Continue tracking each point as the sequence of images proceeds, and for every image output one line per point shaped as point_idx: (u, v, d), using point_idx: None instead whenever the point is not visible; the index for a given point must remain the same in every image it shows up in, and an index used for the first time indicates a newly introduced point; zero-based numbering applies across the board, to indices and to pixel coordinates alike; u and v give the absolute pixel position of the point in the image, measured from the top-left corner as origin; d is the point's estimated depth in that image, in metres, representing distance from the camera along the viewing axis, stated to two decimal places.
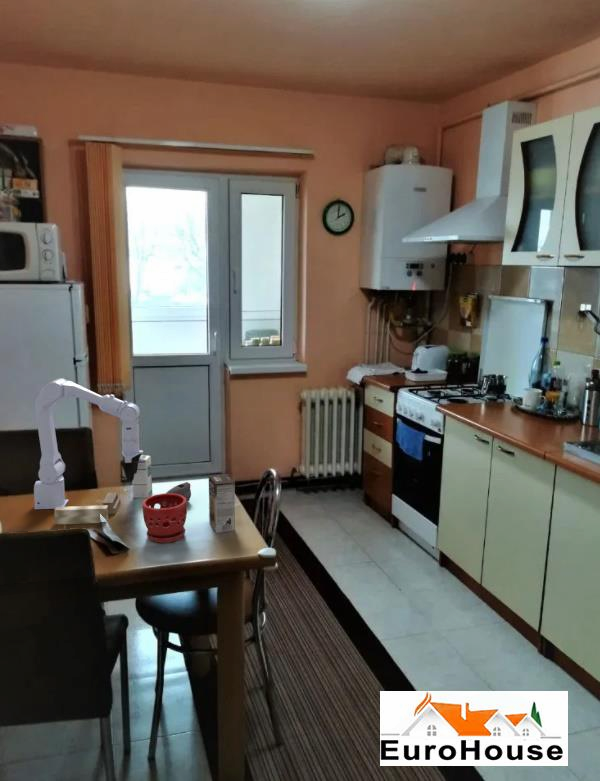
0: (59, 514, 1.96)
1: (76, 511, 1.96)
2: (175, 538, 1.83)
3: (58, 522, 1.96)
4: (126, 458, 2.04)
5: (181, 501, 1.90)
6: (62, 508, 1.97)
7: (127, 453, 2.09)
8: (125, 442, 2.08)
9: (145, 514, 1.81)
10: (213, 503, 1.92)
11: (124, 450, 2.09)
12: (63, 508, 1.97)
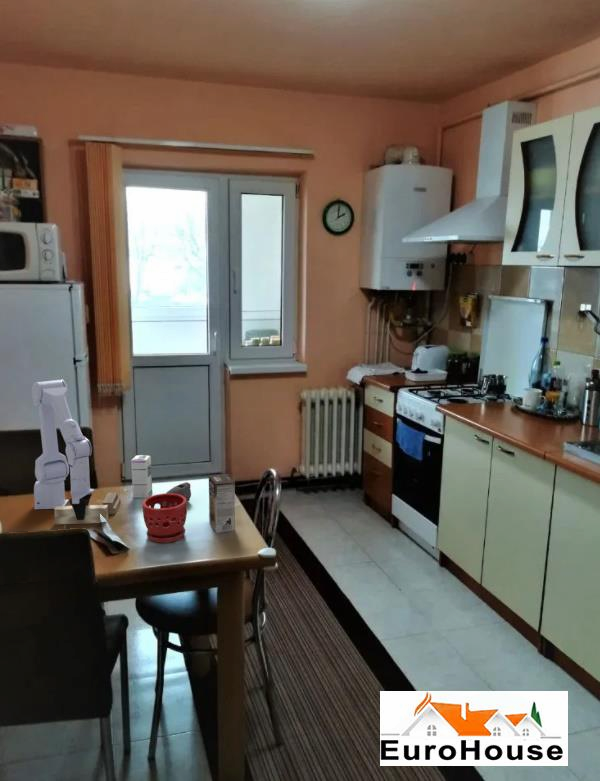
0: (59, 513, 1.96)
1: None
2: (175, 538, 1.83)
3: (58, 521, 1.96)
4: (73, 499, 1.90)
5: (181, 501, 1.90)
6: (62, 507, 1.97)
7: (76, 493, 1.94)
8: (73, 481, 1.94)
9: (145, 514, 1.81)
10: (213, 503, 1.92)
11: (72, 489, 1.94)
12: (63, 507, 1.97)
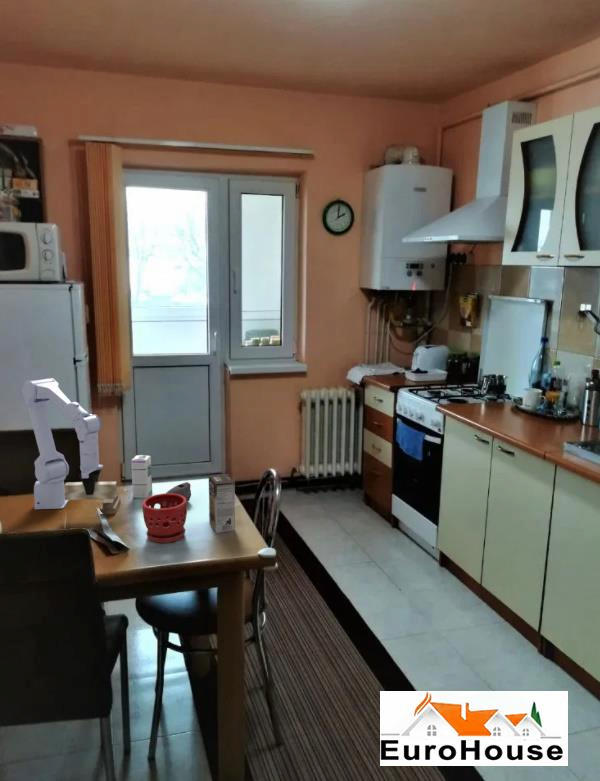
0: (68, 489, 1.99)
1: None
2: (175, 538, 1.83)
3: (68, 497, 1.99)
4: (83, 473, 1.93)
5: (181, 501, 1.90)
6: (72, 483, 2.00)
7: (85, 468, 1.97)
8: (83, 456, 1.96)
9: (145, 514, 1.81)
10: (213, 503, 1.92)
11: (82, 465, 1.97)
12: (73, 483, 2.00)
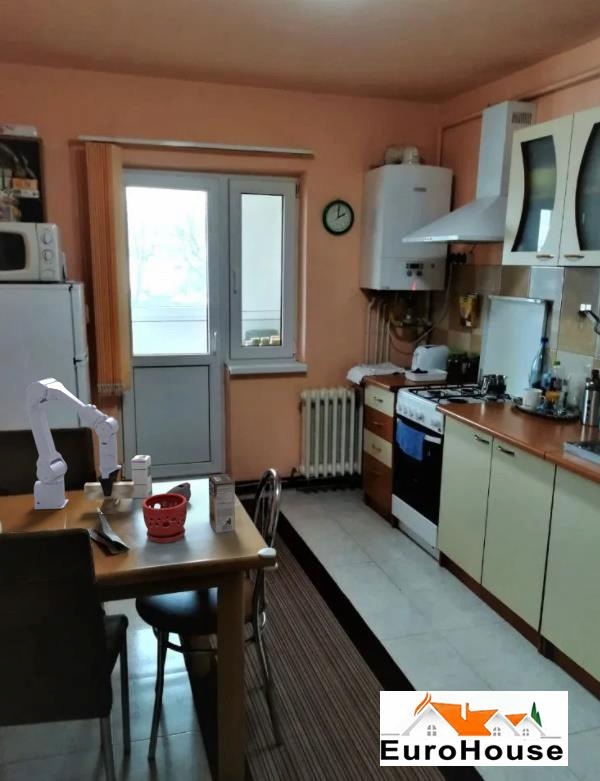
0: (88, 489, 2.07)
1: None
2: (175, 538, 1.83)
3: (87, 497, 2.07)
4: (103, 474, 2.01)
5: (181, 501, 1.90)
6: (91, 484, 2.08)
7: (105, 468, 2.05)
8: (102, 457, 2.04)
9: (145, 514, 1.81)
10: (213, 503, 1.92)
11: (102, 465, 2.05)
12: (92, 484, 2.08)
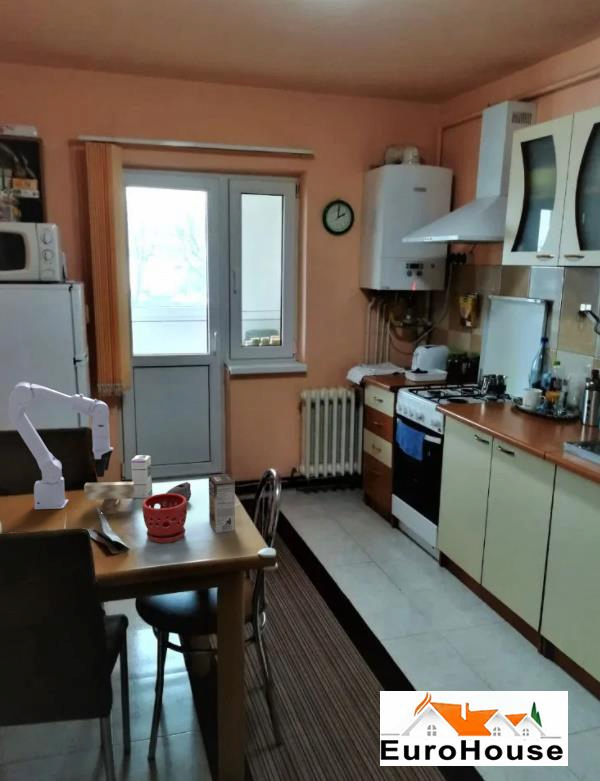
0: (88, 489, 2.07)
1: (105, 487, 2.07)
2: (175, 538, 1.83)
3: (87, 497, 2.07)
4: (96, 455, 2.08)
5: (181, 501, 1.90)
6: (91, 484, 2.08)
7: (97, 450, 2.12)
8: (95, 439, 2.12)
9: (145, 514, 1.81)
10: (213, 503, 1.92)
11: (94, 447, 2.13)
12: (92, 484, 2.08)
